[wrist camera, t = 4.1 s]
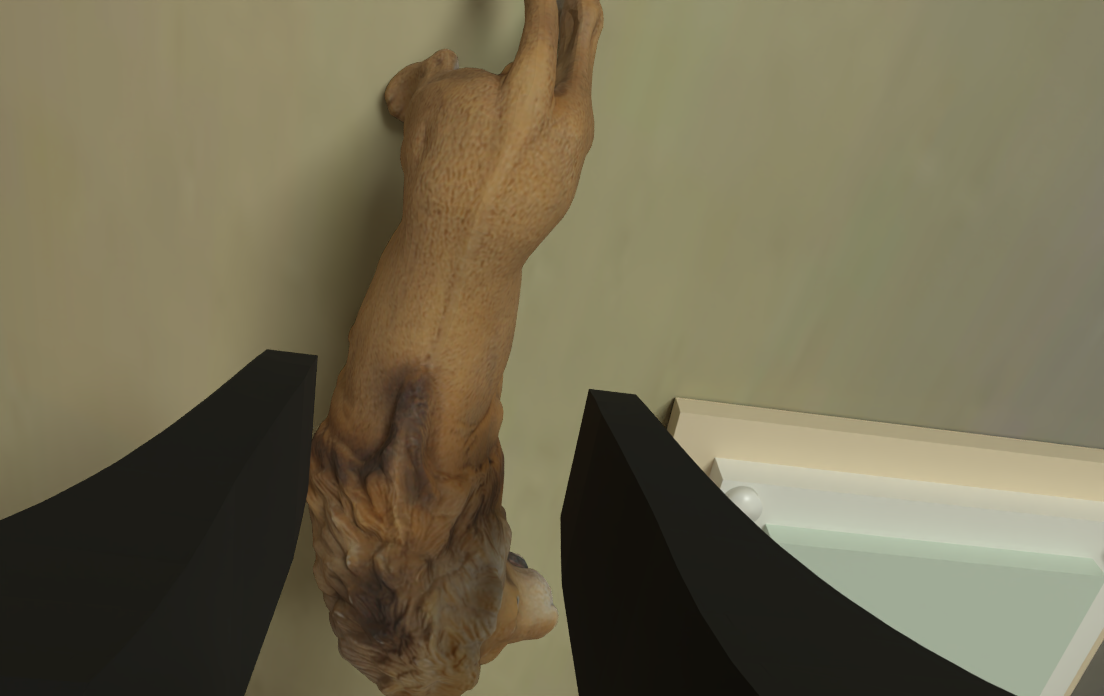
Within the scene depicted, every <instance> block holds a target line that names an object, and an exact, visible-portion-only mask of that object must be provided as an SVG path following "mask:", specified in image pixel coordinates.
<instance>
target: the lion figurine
mask: <svg viewBox="0 0 1104 696" xmlns="http://www.w3.org/2000/svg"><path fill="white" fill-rule="evenodd" d="M524 4H525V24H524V29H523V33H522V37H521V41H520V45H519V49H518V52H517V55H516V57H515V60H514V62H512V63H510V64H508V65H507V66H506V67H505V68H504V70H503V71H502V73H501V74H498V75H496V74H493V73H490V72H487V71H485V70H483V69H478V68H461V69H459V64H458V57H457V55H456V54H455V53H454V52H453V51H451V50H449V49H442V50H439V51H437V52H436V53H435V54H433V55H432V56H431V57H429V58H427V59H426V60H424V61H422V62H417V63H414V64H410V65H408V66H406V67H405V68H403V69H402V70H401V71H399V72H398V73H397V74H396V75H395V76H394V77H393V78H392V79H391V81H390V82H389V84H388V86H387V88H386V91H385V100H386V103H387V106H388V110H389V112H390V114H391V115H392V116H394V117H396V118H397V119H399V120H401V121H402V122H404V139H403V142H402V146H401V155H400V160H401V165H402V169H403V172H404V197H403V216H402V221H401V223H400V224H399V226H398V227H397V229H396V230H395V232H394V234H393V235H392V237H391V239H390V241H389V242H388V244H387V246H386V247H385V249H384V251H383V253H382V255H381V258H380V260H379V262H378V265H377V269H376V272H375V274H374V277H373V279H372V282H371V284H370V286H369V289H368V291H367V293H366V295H365V297H364V300H363V302H362V305H361V307H360V309H359V312H358V315H357V318H356V321H355V323H354V325H353V326H352V327H351V329H350V332H349V336H348V340H349V342H350V346H349V352H348V359H347V362H346V365H345V366H344V368H343V369H342V370H341V372H340V374H339V375H338V379H337V385H336V388H335V390H334V393H333V396H332V400H331V405H330V410H329V414H328V416H327V418H326V419H325V420H324V421H323V422H322V423H321V425H320V427H319V429H318V430H317V431H316V433H315V434H314V436H313V439H312V442H311V456H310V470H309V485H308V493H307V498H306V501H307V503H308V505H309V511H310V518H311V522H312V533H313V547H314V550H315V551H316V560H315V563H314V566H313V574H314V576H315V579H316V582H317V585H318V587H319V589H320V590H321V591H322V592H323V597H324V601H325V603H326V606H327V608H328V609H329V610H330V612H329V620H330V624H331V627H332V630H333V632H334V633H335V635H336V636H337V637H338V650H339V653H340V654H341V656H342V658H344V659H345V660H347V661H349V662H350V663H351V664H352V665H353V666H354V667H355V668H356V669H358V670H359V671H360V672H361V673H363V674H364V675H366V677H367V678H368V679H369V680H371V681H372V682H373V683H375V684H377V686H378V688H379V690H380V691H381V692H382V693H383V694H384V695H386V696H460V695H462V694H463V693H464V692H465V691H467V690H471V689H473V688H474V687H475V685H476V684H477V683H478V680H479V675H480V665H483V664H486V663H488V662H490V661H493V660H494V659H495V658H496V657H497V656H498V654H499V653H500V652H501V651H502V649H503V648H504V647H505V646H506V645H507V644H510V643H515V642H519V641H522V640H532V639H539V638H542V637H544V636H545V635H546V634H547V633H549V632H550V631H551V630H552V629H553V628H554V627H555V626H556V624H557V622H558V611H557V608H556V607H555V606H554V604H553V600H552V591H551V588H550V586H549V584H548V582H547V581H546V580H545V578H544V577H543V576H542V575H541V574H540V573H539V572H537V571H536V570H534V569H529V568H528V566H527V564H526V562H525V560H524V559H523V557H522V556H520V555H519V554H515V553H512V552H510V551H509V550H510V545H511V537H512V532H511V529H510V526H509V524H508V522H507V521H506V512H505V509H504V508H503V507H502V505H501V503H502V494H503V484H504V455H503V452H502V448H501V445H500V441H499V438H498V433H499V430H500V427H501V423H502V420H503V407H502V404H501V402H500V397H501V391H502V383H503V372H504V370H505V367H506V364H507V361H508V358H509V354H510V351H511V347H512V342H513V337H514V331H515V325H516V318H517V311H518V304H519V296H520V287H521V277H522V267H523V265H524V263H525V262H526V260H527V259H528V257H529V256H530V255H531V254H532V253H533V251H534V250H535V249H536V248H537V247H538V246H539V244H540V243H541V242H542V241H543V240H544V239H545V238H546V236H547V235H548V234H549V233H550V232H551V231H552V230H553V228H554V227H555V226H556V225H557V224H558V223H559V222H560V220H561V219H562V218H563V217H564V215H565V214H566V212H567V211H568V209H569V207H570V205H571V203H572V201H573V199H574V196H575V192H576V189H577V186H578V182H579V179H580V174H581V170H582V167H583V163H584V160H585V157H586V155H587V153H588V152H589V150H590V148H591V146H592V142H593V138H594V117H593V110H592V101H591V86H592V73H593V65H594V59H595V53H596V48H597V42H598V39H599V36H600V33H601V31H602V28H603V11H602V7H601V5H600V2H599V0H524ZM558 41H559V50H558V57H557V48H558ZM556 64H557V65H556Z"/></svg>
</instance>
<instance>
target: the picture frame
mask: <svg viewBox="0 0 1104 696" xmlns="http://www.w3.org/2000/svg"><path fill="white" fill-rule="evenodd" d="M667 431H668V432H669V433H670V434H671V435H672V436H673V438H674V439H675V440H676V441H677V442H678V443H679V445H680V446H681V447H682V448H683V449H684V450H685V451H686V453H687V454H688V455H689V456H690V457H691V458H692V459H693V460H694V462H695V463H696V464H697V465H698V466H699V467H700V468H701V469H702V470H703V471H704V473H705V474H706V475H707V476H708V477H709V478H710V479H711V480H712V481H713V482H714V483H715V484H716V485H717V486H718V487H719V488H720V489H721V490H722V491H723V492H724V494H725V495H726V496H727V497H728V498H729V499H730V500H731V501H732V502H733V503H734V504H735V505H736V506H738V507H739V508H740V509H741V510H742V511H743V512H744V513H745V514H746V515H747V516H748V517H749V518H750V519H751V520H752V521H753V522H754V523H755V524H756V525H757V526H759V527H760V528H761V529H762V530H763V531H764V532H765V533H766V534H767V535H768V536H769V537H771V538H772V539H773V540H774V541H775V542H776V543H778V544H779V545H780V546H781V547H782V548H783V549H785V550H786V551H787V552H788V553H790V554H791V555H792V556H793V557H795V558H796V559H797V560H798V561H800V562H801V563H802V564H803V565H805V566H806V567H807V568H808V569H810V570H811V571H812V572H813V573H815V574H816V575H817V576H818V577H820V578H821V579H822V580H824V581H825V582H826V583H828V584H829V585H830V586H832V587H833V588H834V589H836V590H837V591H839V592H840V593H841V594H843V595H844V596H846V597H847V598H848V599H850V600H851V601H853V602H854V603H856V604H857V605H859V606H860V607H862V608H863V609H865V610H866V611H868V612H869V613H871V614H872V615H874V616H875V617H877V618H878V619H880V620H881V621H883V622H884V623H886V624H887V625H889V626H890V627H892V628H894V629H895V630H897V631H899V632H900V633H902V634H904V635H905V636H907V637H909V638H910V639H912V640H913V641H915V642H917V643H918V644H920V645H922V646H923V647H925V648H927V649H929V650H930V651H932V652H934V653H936V654H938V655H939V656H941V657H943V658H945V659H947V660H949V661H950V662H952V663H954V664H956V665H958V666H959V667H961V668H963V669H965V670H967V671H968V672H970V673H972V674H974V675H976V676H978V677H980V678H981V679H983V680H985V681H987V682H989V683H991V684H993V685H996V686H998V687H1000V688H1002V689H1004V690H1006V691H1008V692H1010V693H1013V694H1015V695H1017V696H1070V695H1071V694H1072V692H1073V690H1074V689H1075V687H1076V685H1077V684H1078V682H1079V680H1080V678H1081V677H1082V675H1083V673H1084V672H1085V670H1086V668H1087V667H1088V665H1089V663H1090V662H1091V660H1092V658H1093V656H1094V655H1095V653H1096V651H1097V650H1098V648H1099V646H1100V645H1101V643H1102V641H1103V639H1104V450H1103V449H1095V448H1087V447H1079V446H1071V445H1062V444H1054V443H1046V442H1038V441H1030V440H1021V439H1013V438H1005V437H997V436H989V435H981V434H972V433H964V432H956V431H948V430H940V429H932V428H923V427H915V426H907V425H899V424H891V423H882V422H874V421H866V420H858V419H850V418H842V417H833V416H825V415H817V414H809V413H801V412H793V411H784V410H776V409H768V408H760V407H752V406H743V405H735V404H727V403H719V402H711V401H703V400H694V399H686V398H678V397H675V401H674V405H673V408H672V412H671V416H670V419H669V423H668V427H667Z"/></svg>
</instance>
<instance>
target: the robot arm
mask: <svg viewBox="0 0 1104 696" xmlns="http://www.w3.org/2000/svg"><path fill="white" fill-rule="evenodd" d="M317 358H318V356H317V355H309V354H301V353H293V352H284V351H276V350H268V349H267V350H266V351H264V352H263V353H262V354H260V355H259V356H257V357H256V358H255V359H254V360H252V361H251V362H250V363H249V364H247V365H246V366H245V367H244V368H243V369H242V370H240V371H239V372H238V373H237V374H236V375H234V376H233V377H232V378H231V379H230V380H228V381H227V382H226V383H225V384H224V385H222V386H221V387H220V388H219V389H217V390H216V391H215V392H214V393H213V394H211V395H210V396H209V397H208V398H206V399H205V400H204V401H202V402H201V403H200V404H198V405H197V406H196V407H195V408H193V409H192V410H191V411H189V412H188V413H187V414H185V415H184V416H183V417H181V418H180V419H179V420H177V421H176V422H175V423H174V424H172V425H171V426H169V427H168V428H167V429H165V430H164V431H162V432H161V433H160V434H158V435H157V436H155V437H154V438H152V439H151V440H149V441H148V442H146V443H145V444H143V445H142V446H140V447H139V448H137V449H136V450H134V451H133V452H131V453H130V454H128V455H127V456H125V457H124V458H122V459H121V460H119V461H117V462H116V463H114V464H112V465H111V466H109V467H107V468H105V469H104V470H102V471H100V472H98V473H97V474H95V475H93V476H91V477H90V478H88V479H86V480H84V481H82V482H80V483H78V484H76V485H74V486H73V487H71V488H69V489H67V490H65V491H63V492H61V493H59V494H57V495H55V496H53V497H51V498H49V499H47V500H45V501H43V502H41V503H39V504H37V505H35V506H32V507H30V508H28V509H25V510H23V511H21V512H18V513H16V514H14V515H12V516H9V517H7V518H5V519H2V520H0V696H244V695H245V692H246V689H247V686H248V684H249V681H250V678H251V675H252V672H253V670H254V667H255V664H256V661H257V659H258V656H259V653H260V650H261V647H262V645H263V642H264V639H265V636H266V634H267V631H268V628H269V625H270V622H271V620H272V617H273V614H274V611H275V608H276V606H277V603H278V600H279V597H280V594H281V592H282V589H283V586H284V583H285V580H286V577H287V575H288V572H289V569H290V566H291V563H292V560H293V557H294V552H295V548H296V544H297V539H298V535H299V530H300V526H301V521H302V516H303V512H304V507H305V502H306V498H307V493H308V485H309V470H310V456H311V442H312V428H313V414H314V400H315V386H316V372H317ZM561 572H562V589H563V596H564V603H565V609H566V616H567V622H568V629H569V636H570V642H571V648H572V655H573V661H574V667H575V674H576V680H577V686H578V693H579V696H1017V695H1015V694H1013V693H1010V692H1008V691H1006V690H1004V689H1002V688H1000V687H998V686H996V685H993V684H991V683H989V682H987V681H985V680H983V679H981V678H980V677H978V676H976V675H974V674H972V673H970V672H968V671H967V670H965V669H963V668H961V667H959V666H958V665H956V664H954V663H952V662H950V661H949V660H947V659H945V658H943V657H941V656H939V655H938V654H936V653H934V652H932V651H930V650H929V649H927V648H925V647H923V646H922V645H920V644H918V643H917V642H915V641H913V640H912V639H910V638H909V637H907V636H905V635H904V634H902V633H900V632H899V631H897V630H895V629H894V628H892V627H890V626H889V625H887V624H886V623H884V622H883V621H881V620H880V619H878V618H877V617H875V616H874V615H872V614H871V613H869V612H868V611H866V610H865V609H863V608H862V607H860V606H859V605H857V604H856V603H854V602H853V601H851V600H850V599H848V598H847V597H846V596H844V595H843V594H841V593H840V592H839V591H837V590H836V589H834V588H833V587H832V586H830V585H829V584H828V583H826V582H825V581H824V580H822V579H821V578H820V577H818V576H817V575H816V574H815V573H813V572H812V571H811V570H810V569H808V568H807V567H806V566H805V565H803V564H802V563H801V562H800V561H798V560H797V559H796V558H795V557H793V556H792V555H791V554H790V553H788V552H787V551H786V550H785V549H783V548H782V547H781V546H780V545H779V544H778V543H776V542H775V541H774V540H773V539H772V538H771V537H769V536H768V535H767V534H766V533H765V532H764V531H763V530H762V529H761V528H760V527H759V526H757V525H756V524H755V523H754V522H753V521H752V520H751V519H750V518H749V517H748V516H747V515H746V514H745V513H744V512H743V511H742V510H741V509H740V508H739V507H738V506H736V505H735V504H734V503H733V502H732V501H731V500H730V499H729V498H728V497H727V496H726V495H725V494H724V492H723V491H722V490H721V489H720V488H719V487H718V486H717V485H716V484H715V483H714V482H713V481H712V480H711V479H710V478H709V477H708V476H707V475H706V474H705V473H704V471H703V470H702V469H701V468H700V467H699V466H698V465H697V464H696V463H695V462H694V460H693V459H692V458H691V457H690V456H689V455H688V454H687V453H686V451H685V450H684V449H683V448H682V447H681V446H680V445H679V443H678V442H677V441H676V440H675V439H674V438H673V436H672V435H671V434H670V433H669V432H668V431H667V430H666V428H665V427H664V426H663V425H662V424H661V422H660V421H659V420H658V419H657V418H656V417H655V415H654V414H653V413H652V412H651V411H650V410H649V409H648V407H647V406H646V405H645V404H644V403H643V402H642V401H641V400H640V399H639V398H638V396H637V395H634V394H626V393H618V392H610V391H602V390H594V389H589V391H588V396H587V400H586V405H585V409H584V414H583V418H582V423H581V427H580V432H579V436H578V441H577V445H576V450H575V454H574V459H573V463H572V468H571V472H570V477H569V481H568V486H567V490H566V495H565V499H564V504H563V508H562V512H561Z"/></svg>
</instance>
